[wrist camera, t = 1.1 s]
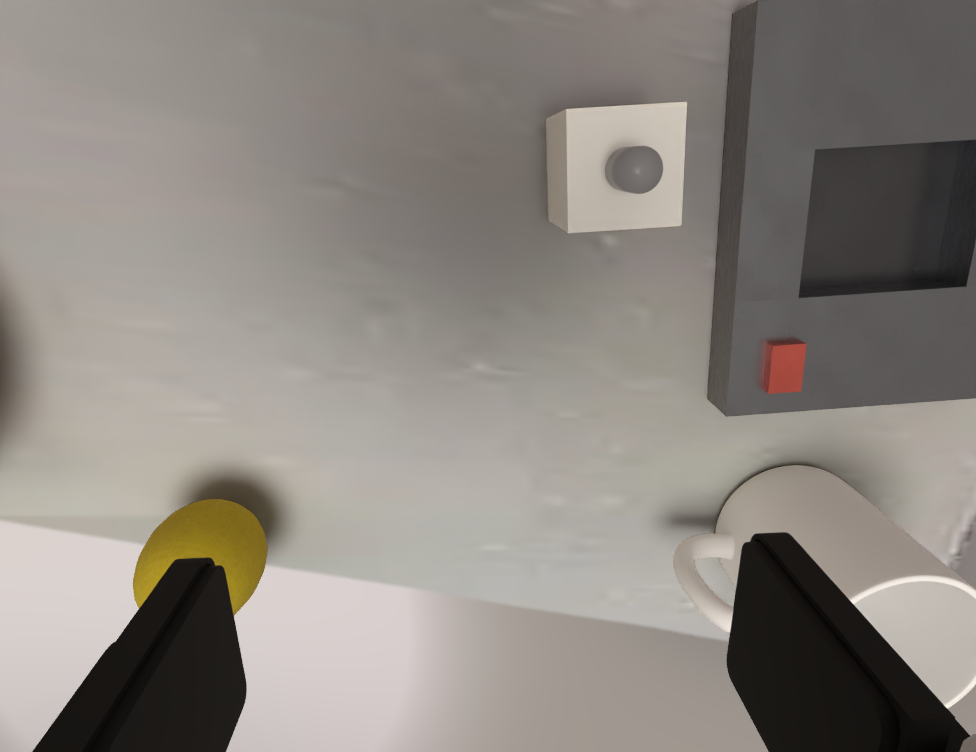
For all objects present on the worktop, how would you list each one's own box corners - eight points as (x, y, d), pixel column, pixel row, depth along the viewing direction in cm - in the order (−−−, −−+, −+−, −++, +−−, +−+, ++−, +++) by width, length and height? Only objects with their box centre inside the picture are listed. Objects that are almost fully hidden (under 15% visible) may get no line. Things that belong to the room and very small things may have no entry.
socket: (732, 13, 27) (765, -4, 24) (1045, -4, 27) (1114, -23, 24) (707, 398, 33) (731, 421, 30) (964, 380, 33) (1012, 400, 30)
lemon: (163, 530, 34) (79, 637, 26) (208, 454, 32) (133, 543, 25) (255, 575, 35) (199, 689, 27) (302, 504, 34) (258, 602, 26)
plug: (545, 118, 28) (576, 104, 21) (644, 112, 28) (708, 96, 21) (548, 220, 29) (577, 239, 22) (641, 214, 29) (700, 231, 22)
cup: (832, 585, 37) (962, 732, 28) (637, 581, 36) (702, 731, 27) (868, 462, 34) (1026, 578, 25) (659, 455, 34) (739, 572, 24)
